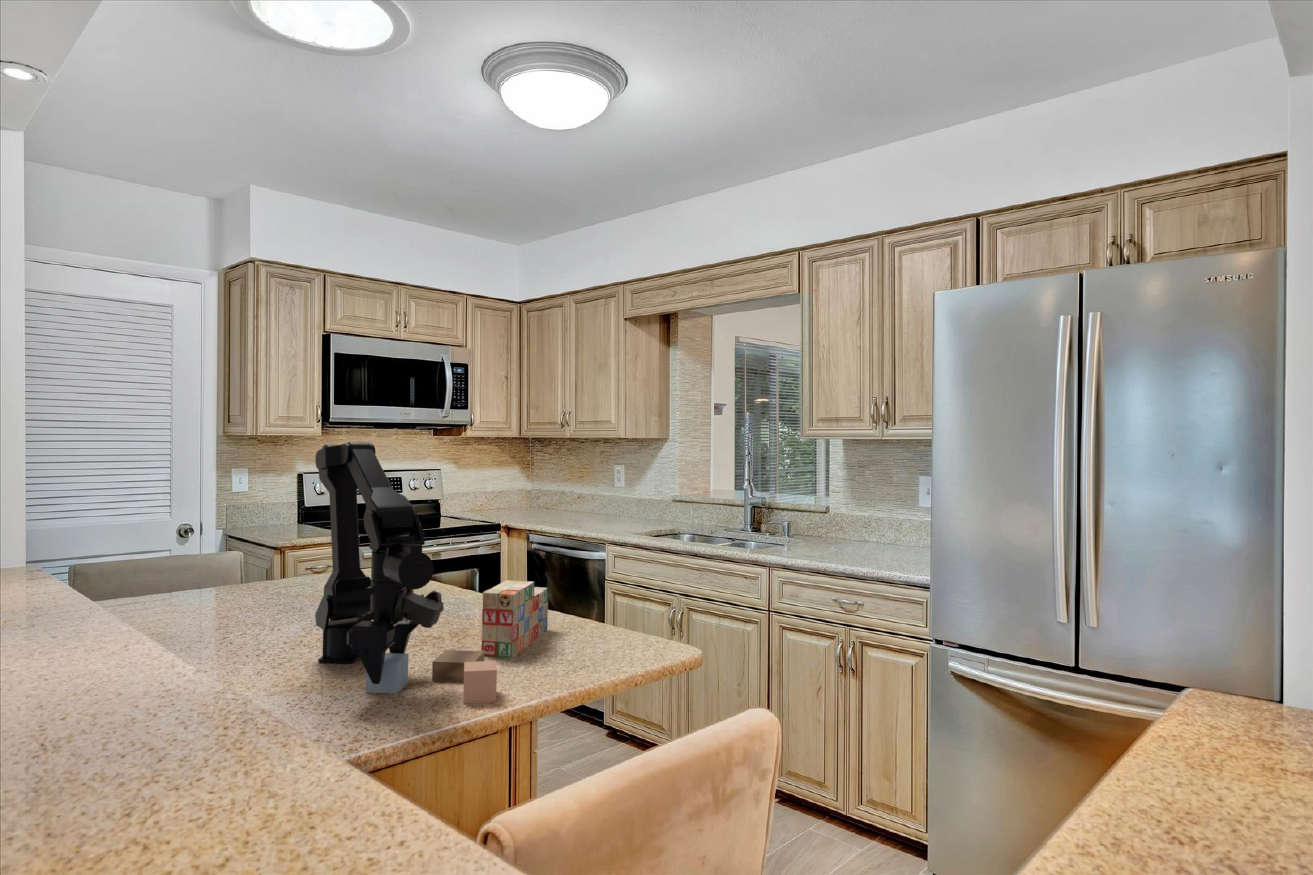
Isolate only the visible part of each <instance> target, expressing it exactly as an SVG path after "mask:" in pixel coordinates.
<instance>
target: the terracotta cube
mask: <svg viewBox="0 0 1313 875" xmlns="http://www.w3.org/2000/svg"><path fill="white" fill-rule="evenodd" d="M497 675H498V667H497V660H484V661H478V662H464V682H463V698H462V699H463V701H462V702H463V704H470V703H472V704H474V703H488V702H489V703H491V702H497V679H498V676H497Z"/></svg>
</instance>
